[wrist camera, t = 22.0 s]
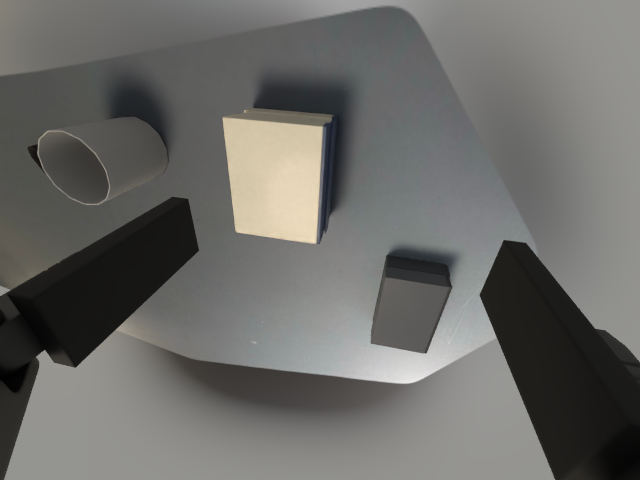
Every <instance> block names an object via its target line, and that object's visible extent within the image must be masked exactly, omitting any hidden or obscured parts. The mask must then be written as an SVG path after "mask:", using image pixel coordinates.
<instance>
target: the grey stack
mask: <svg viewBox="0 0 640 480" xmlns="http://www.w3.org/2000/svg"><path fill="white" fill-rule="evenodd" d="M449 277H450V273H449V270H448V267H447V265H444V264H440V263H433V262H426V261H419V260H413V259H406V258H399V257H393V256H386V261H385V266H384V270H383V275H382V280H381V284H380V289H379V294H378V298H377V303H376V307H375V312H374V317H373V325H372V329H371V344H377V345H382V346H387V347H392V348H398V349H403V350H408V351H413V352H419V353H427V351H428V348H429V346H430V343H431V341H432V338H433V335H434V333H435V330H436V328H437V325H438V323H439V320H440V317H441V315H442V312H443V310H444V307H445V305H446V302H447V299H448V297H449V294H450V292H451V289H452V285H451V282H450V279H449Z"/></svg>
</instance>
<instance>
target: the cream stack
mask: <svg viewBox="0 0 640 480" xmlns="http://www.w3.org/2000/svg"><path fill="white" fill-rule="evenodd" d="M240 115H252V116H263V117H274V118H285V119H296V120H307V121H318V122H327V123H331V124H330V139H329V153H328V168H327V182H326V197H325V211H324V225H323V234H324V235H325V234H326V231H327V228H328V222H329V217H330V207H331V195H332V182H333V170H334V157H335V145H336V132H337V120H338V116H337V115H329V114H318V113H306V112H295V111H283V110H271V109H260V108H251V109H247V110H244V113H242V114H240Z"/></svg>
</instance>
